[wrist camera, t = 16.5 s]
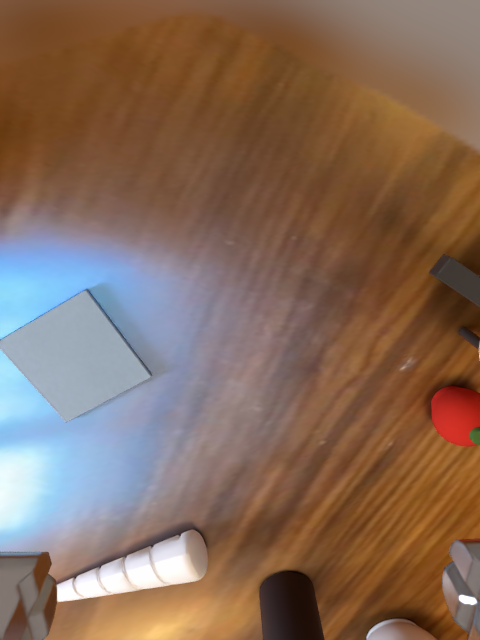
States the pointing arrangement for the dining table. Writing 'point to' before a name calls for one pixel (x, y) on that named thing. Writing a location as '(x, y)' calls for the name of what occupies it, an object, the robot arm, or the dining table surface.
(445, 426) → the tomato
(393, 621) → the lidded bowl
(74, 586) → the unicorn horn
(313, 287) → the dining table surface
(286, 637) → the bottle
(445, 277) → the pan
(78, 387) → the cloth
